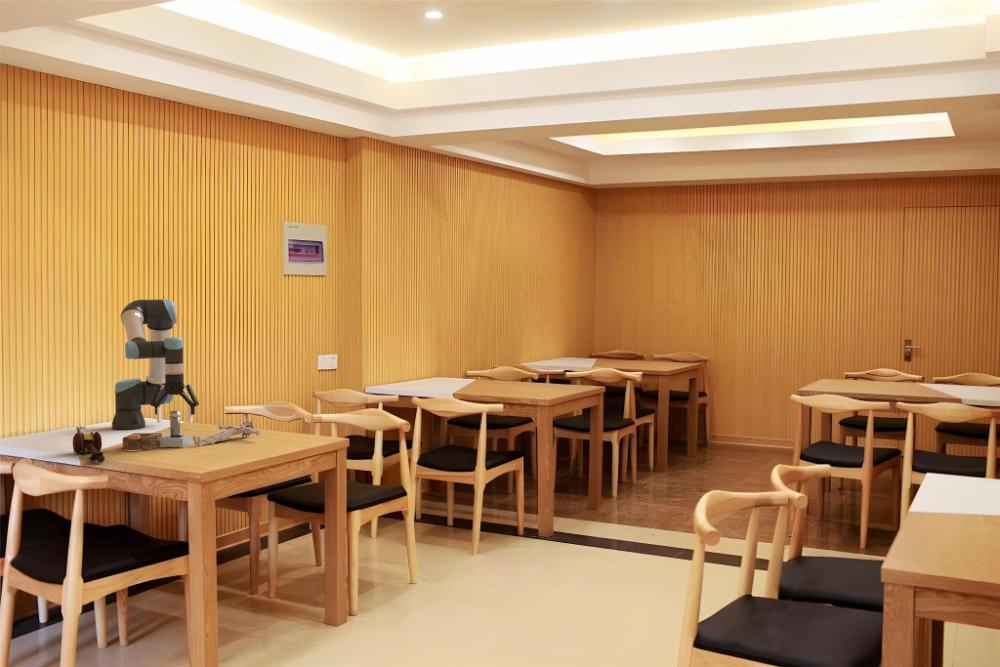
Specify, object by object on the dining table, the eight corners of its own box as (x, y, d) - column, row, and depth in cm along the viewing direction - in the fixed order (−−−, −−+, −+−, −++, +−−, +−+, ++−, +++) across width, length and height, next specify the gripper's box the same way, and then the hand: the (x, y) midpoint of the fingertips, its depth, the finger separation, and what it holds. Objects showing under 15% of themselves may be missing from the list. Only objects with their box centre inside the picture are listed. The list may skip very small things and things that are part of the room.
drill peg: (172, 444, 388) (171, 410, 387) (182, 444, 388) (181, 410, 387) (168, 446, 383) (167, 412, 382) (178, 446, 383) (178, 412, 382)
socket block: (134, 444, 388) (134, 432, 388) (162, 444, 388) (161, 433, 388) (118, 451, 372) (118, 439, 372) (147, 451, 372) (147, 439, 372)
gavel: (115, 469, 350) (87, 472, 344) (96, 448, 378) (71, 450, 372) (115, 444, 348) (87, 446, 343) (97, 425, 376) (71, 427, 371)
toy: (176, 433, 392) (232, 414, 416) (179, 451, 393) (234, 432, 417) (216, 439, 376) (271, 420, 400) (219, 458, 377) (274, 438, 401)
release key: (132, 447, 376) (132, 434, 376) (140, 447, 376) (140, 434, 376) (129, 448, 373) (128, 435, 372) (137, 448, 373) (137, 435, 372)
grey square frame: (168, 443, 390) (168, 434, 390) (191, 443, 390) (191, 434, 390) (159, 447, 380) (159, 438, 380) (183, 447, 380) (182, 438, 380)
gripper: (141, 374, 380) (142, 423, 381) (200, 374, 380) (201, 423, 381) (148, 372, 387) (149, 420, 389) (206, 372, 387) (206, 420, 388)
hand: (175, 422), depth 385 cm, fingers open, 13 cm apart
